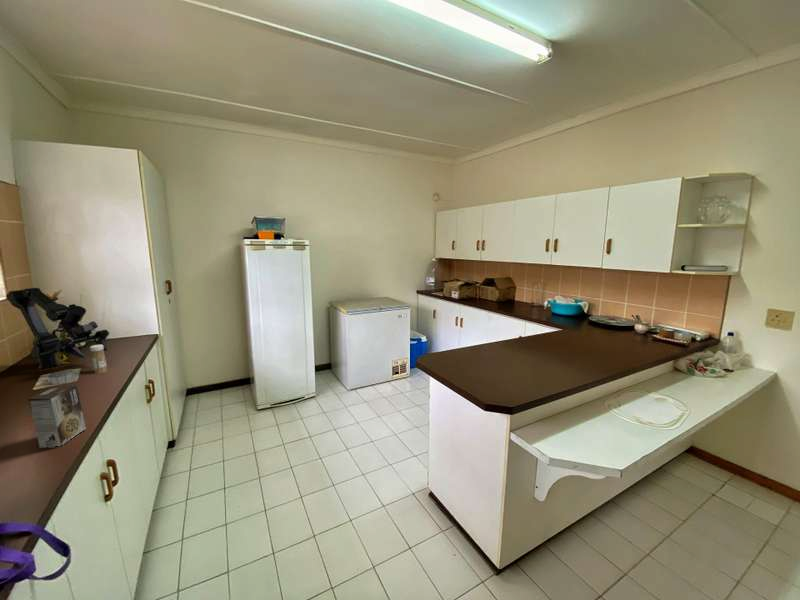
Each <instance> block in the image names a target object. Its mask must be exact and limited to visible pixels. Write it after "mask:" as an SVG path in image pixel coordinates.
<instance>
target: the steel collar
mask: <svg viewBox="0 0 800 600" xmlns="http://www.w3.org/2000/svg"><path fill="white" fill-rule="evenodd" d="M75 369H76V368H75ZM75 369H74V368H73V369H65V370H64V369H63V370H60V371H55V372H51V373H49V374H50V375H48V376H47V378H48V383H49V384H51V385H54V384H60V385H63V384H62V383H65V384H68V383H67V382H70V381H73V380H75V379H77V378H78V379H79V376H78V372H77V370H75ZM70 383H71V382H70Z"/></svg>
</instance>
